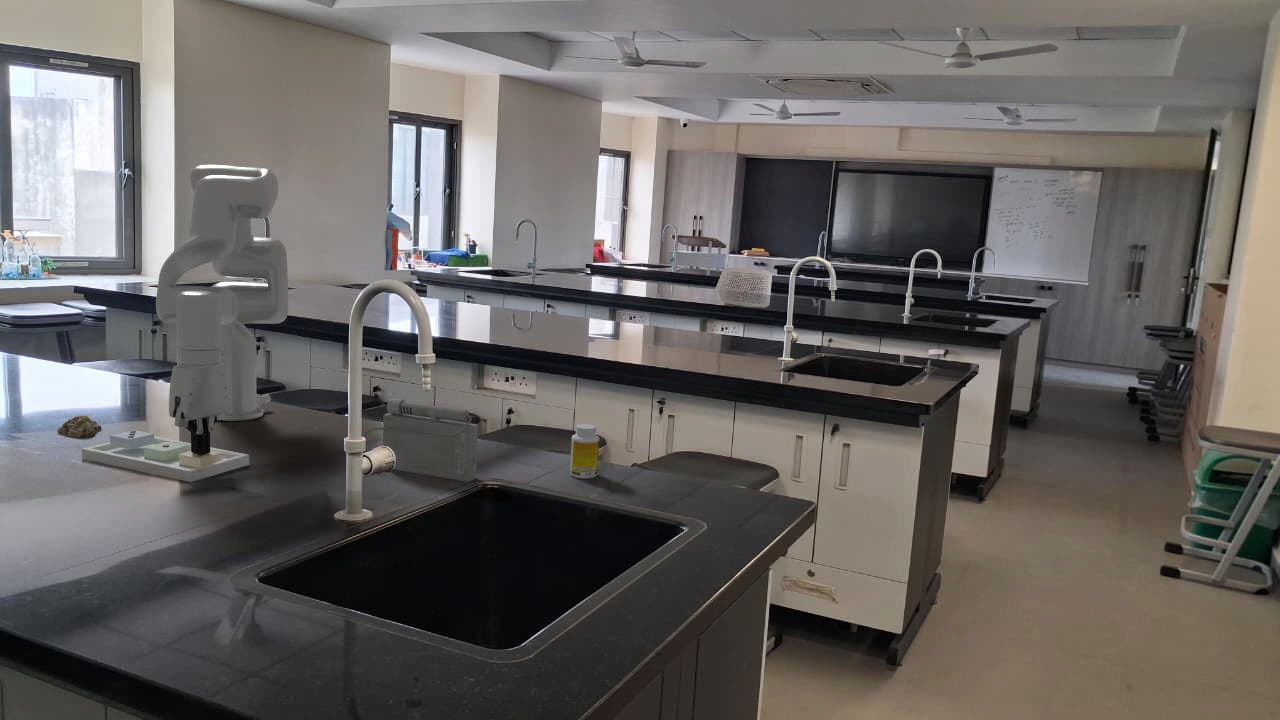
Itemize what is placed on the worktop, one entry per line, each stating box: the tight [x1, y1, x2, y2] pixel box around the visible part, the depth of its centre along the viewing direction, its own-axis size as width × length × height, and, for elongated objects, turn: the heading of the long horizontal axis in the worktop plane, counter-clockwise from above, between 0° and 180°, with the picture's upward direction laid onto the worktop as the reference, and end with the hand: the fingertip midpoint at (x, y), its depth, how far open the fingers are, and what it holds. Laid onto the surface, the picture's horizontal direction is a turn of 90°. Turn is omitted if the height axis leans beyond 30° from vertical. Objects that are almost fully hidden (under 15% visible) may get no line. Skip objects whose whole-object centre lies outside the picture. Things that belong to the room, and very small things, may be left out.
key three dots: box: [109, 429, 155, 449], centre depth 187 cm, size 5×5×2 cm
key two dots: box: [179, 450, 223, 468], centre depth 180 cm, size 5×5×2 cm
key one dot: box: [144, 442, 188, 462], centre depth 184 cm, size 5×5×2 cm
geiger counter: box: [362, 398, 479, 482], centre depth 186 cm, size 14×6×25 cm
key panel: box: [81, 435, 250, 483], centre depth 184 cm, size 14×28×2 cm, turn 68°
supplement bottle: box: [569, 423, 600, 480], centre depth 191 cm, size 6×6×10 cm
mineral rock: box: [56, 415, 103, 439], centre depth 201 cm, size 11×4×8 cm
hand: (200, 452), depth 180 cm, fingers closed
